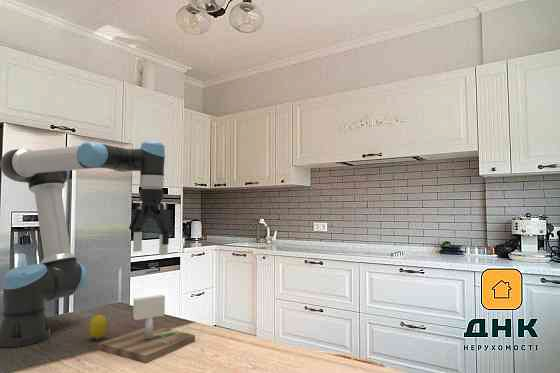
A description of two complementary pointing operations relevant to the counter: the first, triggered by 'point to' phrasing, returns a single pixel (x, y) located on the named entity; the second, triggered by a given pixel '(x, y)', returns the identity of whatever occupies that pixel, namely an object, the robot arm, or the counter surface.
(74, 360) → the counter surface
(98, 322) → the lemon
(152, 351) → the wooden cutting board
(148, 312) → the white stand
